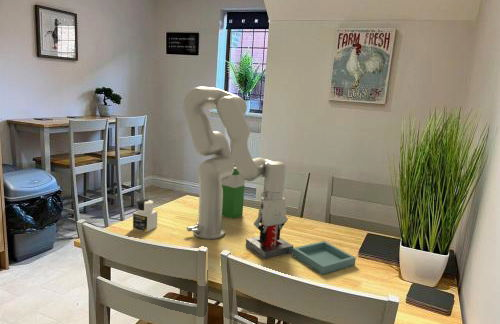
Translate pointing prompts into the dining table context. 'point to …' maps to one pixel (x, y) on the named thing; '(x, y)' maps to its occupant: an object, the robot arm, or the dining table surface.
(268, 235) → the soda can
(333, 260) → the tray
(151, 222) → the medicine bottle
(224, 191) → the green cereal box
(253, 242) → the grey square frame
